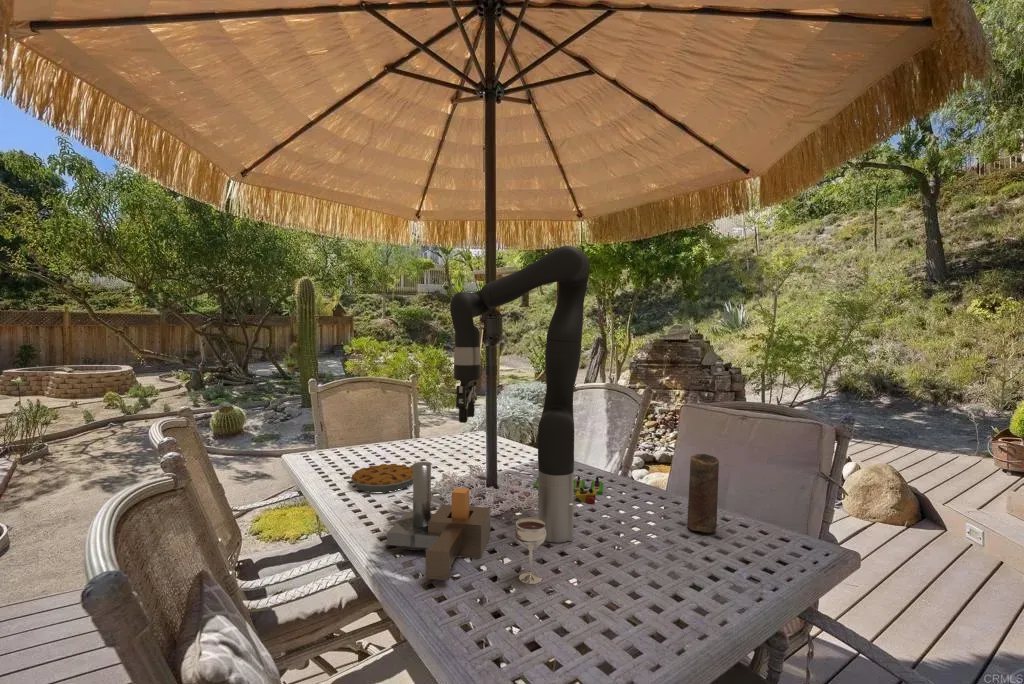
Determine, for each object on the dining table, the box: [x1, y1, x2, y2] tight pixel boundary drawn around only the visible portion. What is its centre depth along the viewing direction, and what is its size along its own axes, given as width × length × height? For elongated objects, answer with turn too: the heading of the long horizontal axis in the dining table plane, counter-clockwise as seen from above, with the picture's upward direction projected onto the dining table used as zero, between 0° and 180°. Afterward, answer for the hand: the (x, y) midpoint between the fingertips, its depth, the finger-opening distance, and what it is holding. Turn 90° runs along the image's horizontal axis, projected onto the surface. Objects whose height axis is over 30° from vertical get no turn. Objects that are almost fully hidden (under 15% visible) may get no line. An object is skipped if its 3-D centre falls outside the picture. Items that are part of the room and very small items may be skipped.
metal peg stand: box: [386, 461, 440, 551], centre depth 120 cm, size 14×14×20 cm
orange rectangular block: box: [451, 487, 470, 519], centre depth 119 cm, size 4×4×14 cm
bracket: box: [425, 504, 492, 581], centre depth 112 cm, size 13×24×8 cm, turn 171°
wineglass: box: [515, 516, 546, 585], centre depth 104 cm, size 7×7×12 cm
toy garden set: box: [532, 475, 604, 505], centre depth 159 cm, size 23×19×5 cm
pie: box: [350, 463, 413, 493], centre depth 165 cm, size 22×22×5 cm
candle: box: [686, 453, 720, 534], centre depth 129 cm, size 8×7×20 cm
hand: (466, 419), depth 136 cm, fingers open, 8 cm apart
